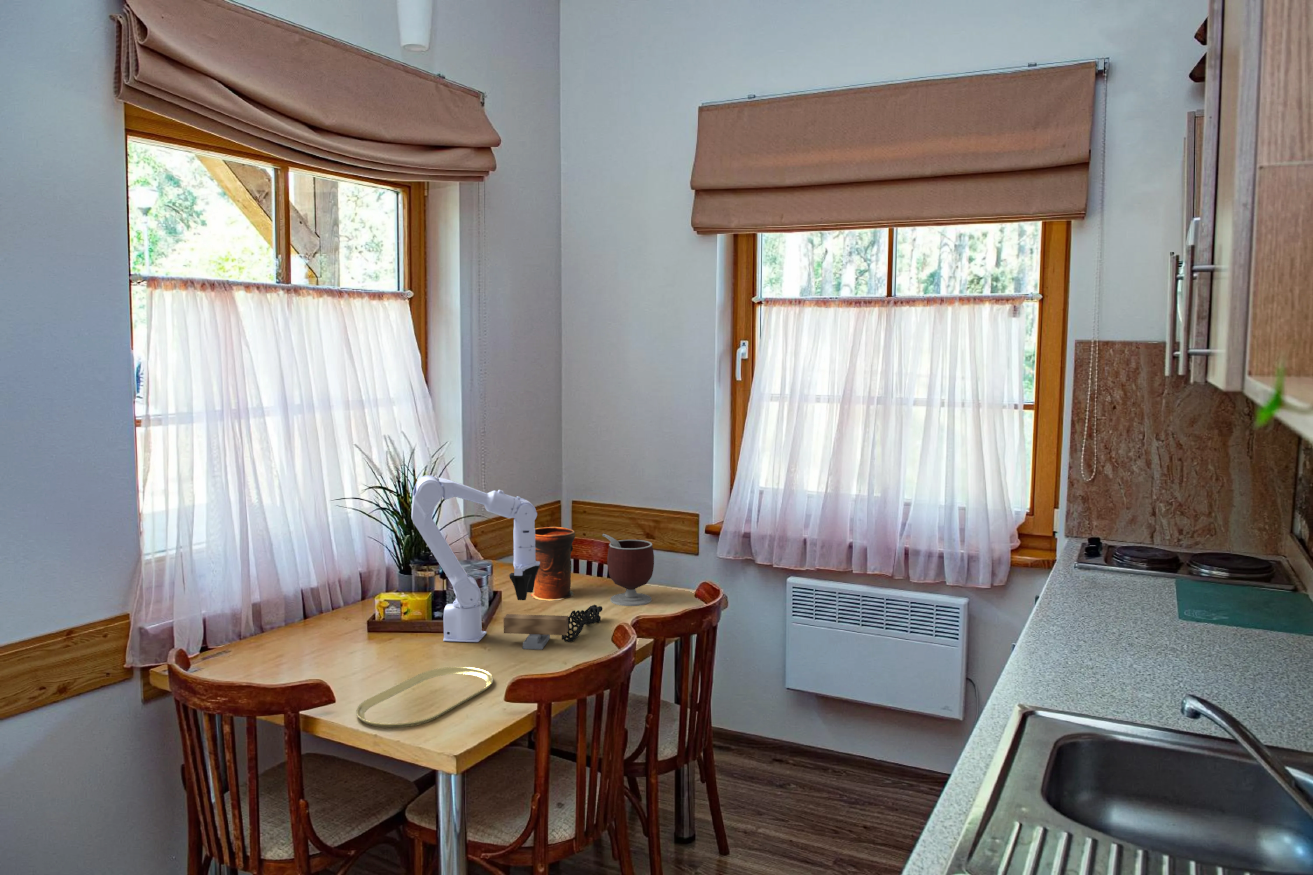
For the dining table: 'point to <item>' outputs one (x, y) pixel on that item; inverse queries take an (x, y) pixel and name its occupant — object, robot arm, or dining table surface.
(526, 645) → the fulcrum
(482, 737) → the dining table surface
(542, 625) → the beam
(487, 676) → the serving platter
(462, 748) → the dining table surface
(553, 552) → the vessel
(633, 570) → the mate gourd
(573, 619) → the decorative element
